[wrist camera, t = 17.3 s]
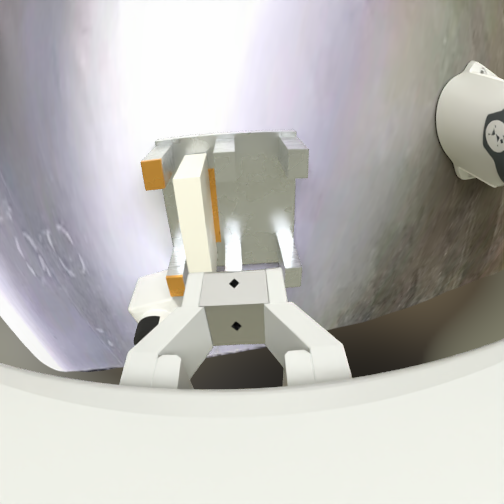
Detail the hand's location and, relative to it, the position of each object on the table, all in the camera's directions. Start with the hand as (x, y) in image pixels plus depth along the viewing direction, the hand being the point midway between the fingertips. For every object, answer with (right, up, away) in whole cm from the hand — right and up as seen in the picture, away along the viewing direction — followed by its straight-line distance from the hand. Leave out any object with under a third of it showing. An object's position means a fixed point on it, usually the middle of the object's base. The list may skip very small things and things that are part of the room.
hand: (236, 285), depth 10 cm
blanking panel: (-6, +6, +26) cm, 28 cm away
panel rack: (-2, +7, +28) cm, 29 cm away
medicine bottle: (-12, -4, +35) cm, 38 cm away
